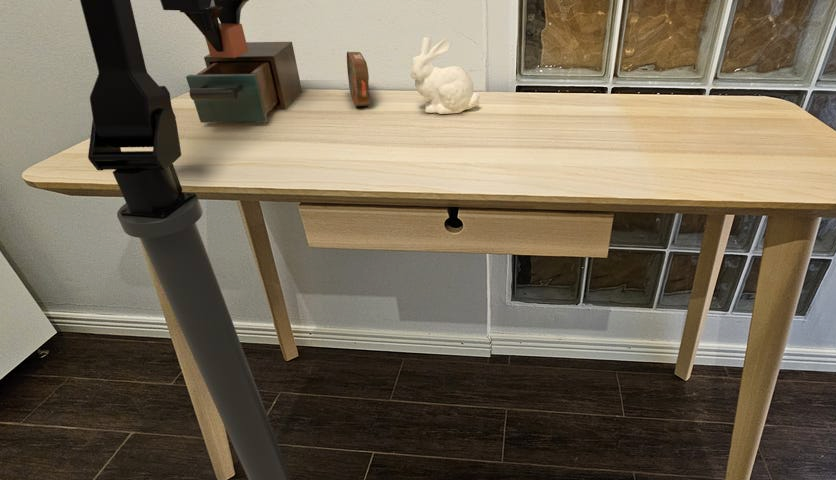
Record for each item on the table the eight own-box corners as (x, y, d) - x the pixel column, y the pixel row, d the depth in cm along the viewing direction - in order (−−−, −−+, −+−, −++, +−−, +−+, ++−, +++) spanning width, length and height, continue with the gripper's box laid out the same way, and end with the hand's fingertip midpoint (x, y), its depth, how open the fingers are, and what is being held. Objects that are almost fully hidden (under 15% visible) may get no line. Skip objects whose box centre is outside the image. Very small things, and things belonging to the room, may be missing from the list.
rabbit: (411, 115, 97) (405, 45, 90) (421, 99, 105) (416, 33, 98) (477, 116, 96) (476, 45, 89) (482, 100, 104) (482, 34, 97)
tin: (349, 90, 110) (342, 46, 106) (364, 88, 111) (358, 45, 106) (357, 113, 99) (350, 65, 94) (374, 111, 99) (368, 64, 95)
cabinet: (285, 109, 101) (273, 56, 95) (219, 110, 101) (203, 57, 95) (302, 91, 110) (292, 41, 105) (241, 91, 110) (228, 42, 105)
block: (235, 58, 89) (227, 29, 87) (210, 57, 90) (202, 28, 88) (248, 51, 93) (241, 23, 90) (225, 50, 94) (217, 23, 91)
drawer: (256, 131, 89) (244, 83, 85) (188, 132, 89) (172, 84, 85) (283, 102, 101) (273, 59, 97) (223, 103, 101) (211, 60, 97)
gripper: (211, -55, 73) (242, 63, 82) (276, -64, 88) (296, 37, 97) (139, -55, 75) (177, 61, 84) (214, -64, 90) (240, 36, 99)
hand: (227, 48), depth 91 cm, fingers closed on block, 4 cm apart
